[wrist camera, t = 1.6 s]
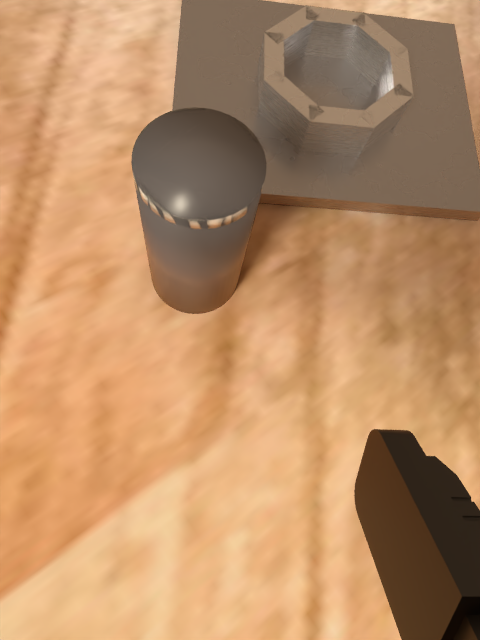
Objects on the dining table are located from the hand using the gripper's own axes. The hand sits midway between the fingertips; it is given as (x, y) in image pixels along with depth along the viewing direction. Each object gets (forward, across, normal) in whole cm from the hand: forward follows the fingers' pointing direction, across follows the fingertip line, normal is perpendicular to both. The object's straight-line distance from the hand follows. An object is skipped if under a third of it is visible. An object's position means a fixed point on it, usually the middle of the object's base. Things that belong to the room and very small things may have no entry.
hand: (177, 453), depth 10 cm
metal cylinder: (+18, 0, +3) cm, 18 cm away
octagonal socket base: (+27, -8, -7) cm, 29 cm away
